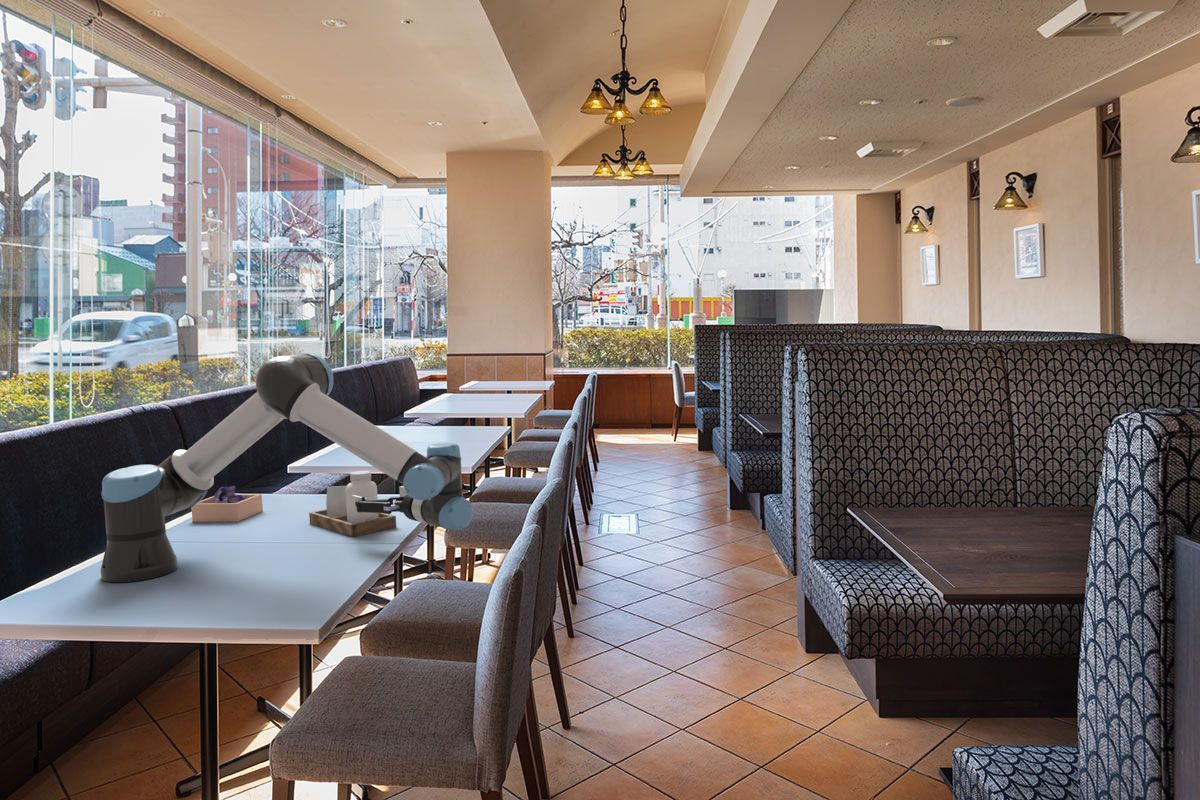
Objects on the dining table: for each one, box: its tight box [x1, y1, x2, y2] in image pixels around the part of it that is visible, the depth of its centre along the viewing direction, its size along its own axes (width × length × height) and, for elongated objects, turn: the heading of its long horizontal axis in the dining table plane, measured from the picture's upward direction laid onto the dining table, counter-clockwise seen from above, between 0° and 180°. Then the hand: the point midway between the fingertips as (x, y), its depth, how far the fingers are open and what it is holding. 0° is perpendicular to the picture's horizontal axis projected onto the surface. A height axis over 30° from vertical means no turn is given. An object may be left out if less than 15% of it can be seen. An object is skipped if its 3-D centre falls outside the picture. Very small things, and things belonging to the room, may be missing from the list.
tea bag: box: [325, 485, 347, 518], centre depth 234 cm, size 4×7×10 cm, turn 93°
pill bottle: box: [345, 470, 379, 524], centre depth 225 cm, size 8×8×15 cm
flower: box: [213, 485, 245, 503], centre depth 248 cm, size 9×9×10 cm
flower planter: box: [190, 493, 264, 523], centre depth 247 cm, size 13×14×5 cm
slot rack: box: [308, 508, 397, 538], centre depth 230 cm, size 24×12×3 cm, turn 44°
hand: (377, 495), depth 219 cm, fingers open, 13 cm apart
